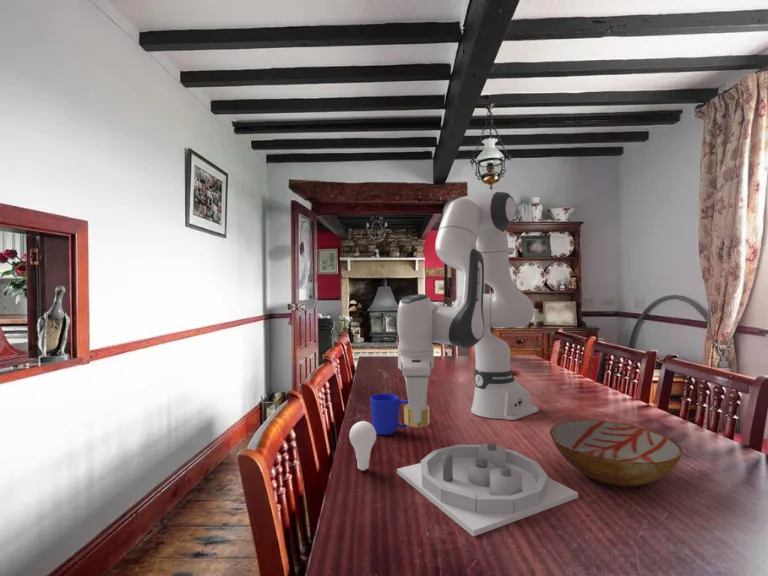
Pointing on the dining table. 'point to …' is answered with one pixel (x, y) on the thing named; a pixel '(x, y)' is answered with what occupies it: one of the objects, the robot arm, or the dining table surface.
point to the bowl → (615, 451)
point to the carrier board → (467, 487)
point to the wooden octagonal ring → (410, 420)
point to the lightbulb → (362, 442)
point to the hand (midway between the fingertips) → (416, 415)
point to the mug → (385, 413)
